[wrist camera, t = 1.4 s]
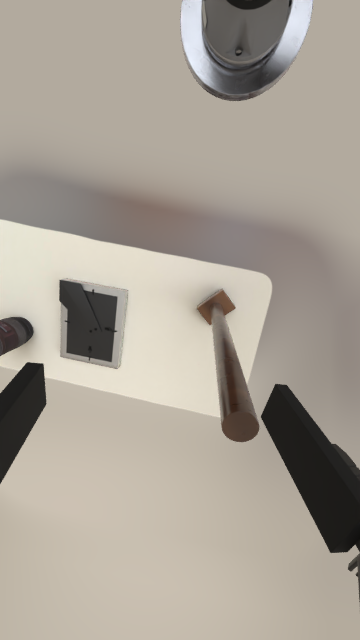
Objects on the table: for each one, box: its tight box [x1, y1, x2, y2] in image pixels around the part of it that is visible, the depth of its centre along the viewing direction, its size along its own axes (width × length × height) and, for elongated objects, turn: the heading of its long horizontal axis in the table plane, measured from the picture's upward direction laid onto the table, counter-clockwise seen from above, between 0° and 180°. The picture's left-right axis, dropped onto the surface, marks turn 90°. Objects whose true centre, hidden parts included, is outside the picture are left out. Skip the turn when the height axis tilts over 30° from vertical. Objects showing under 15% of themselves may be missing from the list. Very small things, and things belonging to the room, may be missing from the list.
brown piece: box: [197, 289, 259, 442], centre depth 35 cm, size 7×5×40 cm
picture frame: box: [59, 279, 128, 369], centre depth 58 cm, size 16×3×21 cm
